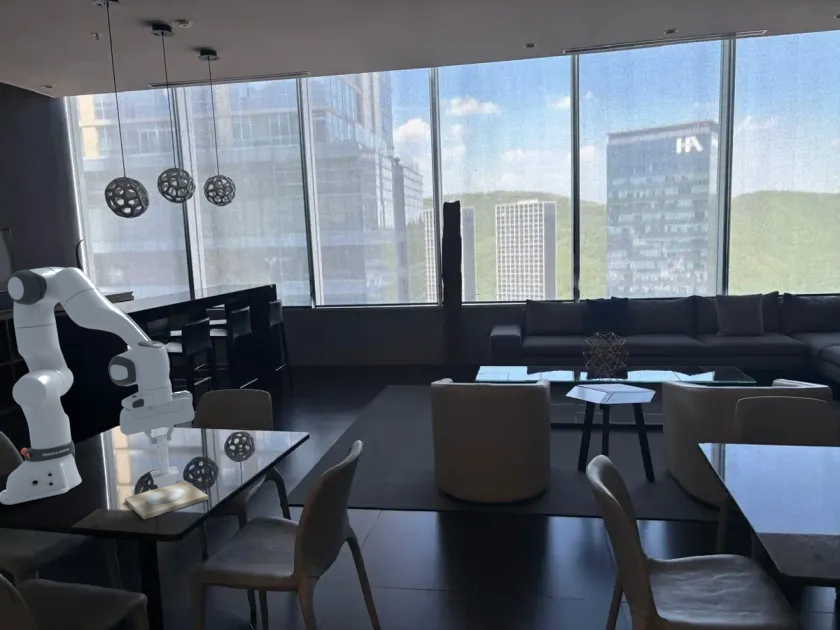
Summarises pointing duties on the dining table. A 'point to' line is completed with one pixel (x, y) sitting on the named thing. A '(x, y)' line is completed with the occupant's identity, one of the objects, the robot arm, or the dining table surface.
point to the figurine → (164, 465)
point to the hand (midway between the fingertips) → (160, 442)
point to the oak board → (165, 499)
